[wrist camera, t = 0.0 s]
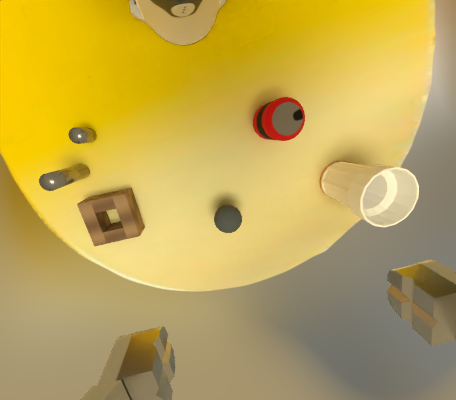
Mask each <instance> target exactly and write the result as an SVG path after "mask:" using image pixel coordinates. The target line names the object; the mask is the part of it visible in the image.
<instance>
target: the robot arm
mask: <svg viewBox="0 0 456 400" xmlns="http://www.w3.org/2000/svg"><path fill="white" fill-rule="evenodd" d="M135 1H136V4H135V3H134V2H135ZM226 1H227V0H129V4H130V10H131V13H132V15H133V16H134V17H135V18H137V19H139V20H140V21H142V22H145V23H147V24H148V25H149V26H150V27H151V28H152V29H153V30H154V31H155V32H156V33H157V34H158V35H159V36H160V37H162V38H163V39H165V40H166V41H168V42H171V43H174V44H178V45H188V44H192V43H195V42H197V41H199V40H201V39H202V38H203V37H204V36H206V34H207V33H208V32H209V31H210V29H211V28H212V26H213V24H214V21H215V18H216V15H217V13H218V11H219V9H220V8H221V7H222V6H223V5H224V3H225V2H226ZM387 281H389V283H391V286H390V287H389V289H388V290H387V295H388V300H389V303H390V305H391V307H392V308H393V310H394V311H395V312H396V313H397V314H398V315H399V316H400V317H401V318H402V319H405V320H407V321H410V322H411V323H412V328H413V329H414V330H415V331H416V332H417V333H418V334H419V335H420V336H421V337H422V338H423V339H424V340H425V341H427V342H428V343H429V344H430V345H431V346H432V345H437V344H441V343H445V342H450V341H454V340H456V272H455V271H453V270H452V269H450V268H448V267H446V266H444V265H442V264H440V263H439V262H437V261H434V260H427V261H423V262H420V263H416V264H413V265H409V266H405V267H401V268H397V269H393V270H390V271H389V272H388V275H387ZM167 338H168V334H167V331H166V329H165V327H158V328H154V329H149V330H145V331H140V332H136V333H133V334H128V335H124V336H120V337H119V338H118V339H117V340H116V342H115V344H114V347H113V349H112V351H111V354H110V356H109V358H108V361H107V363H106V366H105V368H104V370H103V373H102V375H101V378H100V380H99V383H98V385H97V386H93V387H92V388H91V389H90V390H89V391H88V392H87V393H86V394H85V395H84V396H83V397H82V398H81V399H80V400H172V392H173V391H172V388H171V385H170V382H171V380H172V379H173V378H174V373H175V356H174V351H173V348H172V345H171V344H169V343H168V342H167Z"/></svg>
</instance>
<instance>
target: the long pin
mask: <svg viewBox="0 0 456 400" xmlns="http://www.w3.org/2000/svg"><path fill="white" fill-rule="evenodd" d="M89 174H90V170H89V168H88V167H87V166H86V165H82V164H81V165H77V166H73V167H69V168H65V169H62V170H58V171H54V172H50V173H47V174H43V175H42V176H41V177H40V179H39V183H40V185H41V187H42V188H43V189H45V190H48V191H53V190H55V189H58V188H61V187H63V186H66V185H68V184H71V183H73V182H76V181H79V180H81V179H84V178H86V177H88V176H89Z"/></svg>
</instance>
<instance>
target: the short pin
mask: <svg viewBox="0 0 456 400" xmlns="http://www.w3.org/2000/svg"><path fill="white" fill-rule="evenodd" d="M69 138H70V140H71V141H72V142H74V143H77V144H81V143H91V142H94V141H95V140H96V133H95V131H94V130H93V129H91V128H72V129H71V130H70V131H69Z"/></svg>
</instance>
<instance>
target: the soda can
mask: <svg viewBox="0 0 456 400" xmlns="http://www.w3.org/2000/svg"><path fill="white" fill-rule="evenodd" d="M304 122H305V114H304V110H303V108H302V106H301V104H300V103H299V102H298V101H296V100H295V99H293V98H289V97H283V98H279V99H277V100H275V101H272V102H270V103H268V104H266V105H263V106H262V107H260V108H259V109H258V110H257V112H256V113H255V116H254V119H253V125H254V129H255V131H256V133H257V134H258V135H259V136H260V137H262V138H264V139H271V140H281V141H286V140H290V139H292V138H294V137H296V136H297V135H298V134H299V133H300V131H301V130H302V128H303V125H304Z"/></svg>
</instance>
